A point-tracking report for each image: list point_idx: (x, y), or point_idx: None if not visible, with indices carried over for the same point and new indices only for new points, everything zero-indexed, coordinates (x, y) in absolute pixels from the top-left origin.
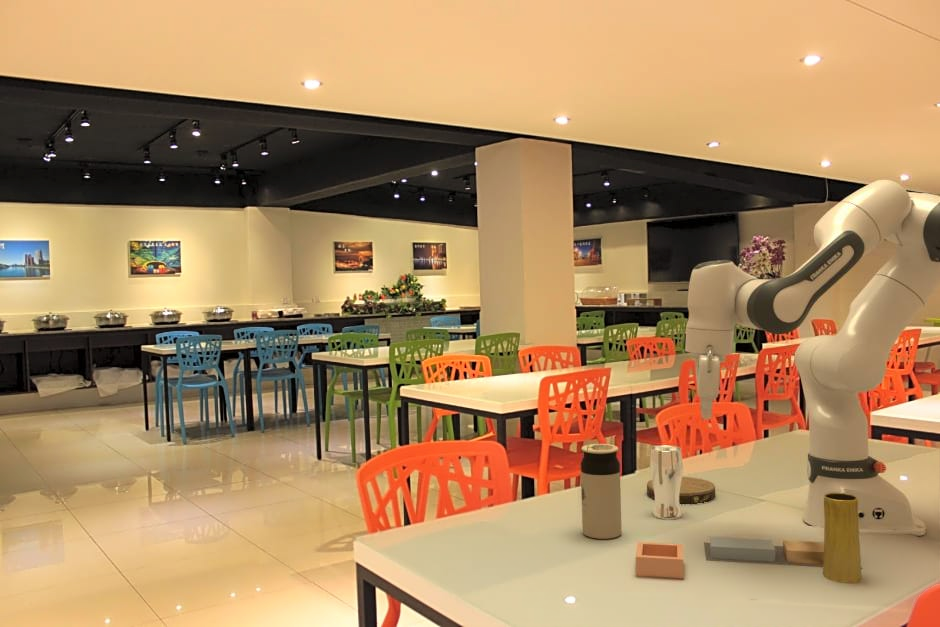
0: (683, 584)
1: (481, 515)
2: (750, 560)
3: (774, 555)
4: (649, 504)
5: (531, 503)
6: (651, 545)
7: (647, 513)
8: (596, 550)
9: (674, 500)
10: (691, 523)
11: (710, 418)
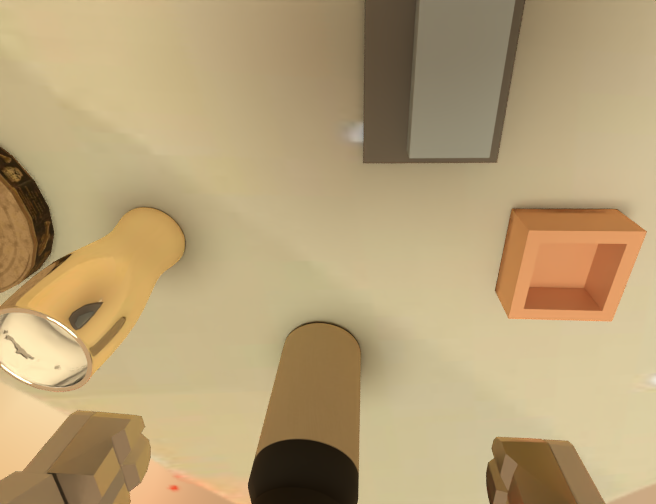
0: (625, 210)
1: None
2: None
3: None
4: None
5: (173, 453)
6: (526, 292)
7: None
8: (421, 355)
9: (151, 242)
10: (195, 185)
11: (566, 441)
